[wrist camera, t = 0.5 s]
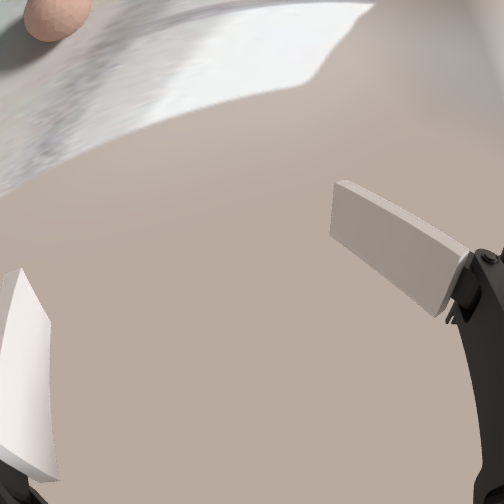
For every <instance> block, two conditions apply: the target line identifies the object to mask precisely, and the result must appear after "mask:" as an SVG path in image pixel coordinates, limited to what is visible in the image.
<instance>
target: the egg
mask: <svg viewBox="0 0 504 504" xmlns="http://www.w3.org/2000/svg"><path fill="white" fill-rule="evenodd" d="M90 8H91V0H28V2H27V4H26V7H25V10H24V23H25V26H26V29H27V31H28V32H29V33H30V34H31V35H32V36H33V37H34V38H36V39H38V40H41V41H46V42H52V41H58V40H61V39H64V38H66V37H68V36H70V35H72V34H73V33H74V32H76V31H77V30H78V29H79V28H80V27H81V26H82V25H83V23H84V22H85V20H86V18H87V17H88V14H89V12H90Z"/></svg>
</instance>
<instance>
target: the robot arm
mask: <svg viewBox="0 0 504 504" xmlns="http://www.w3.org/2000/svg"><path fill="white" fill-rule="evenodd" d="M329 235H330V236H331V237H332V238H334V239H335V240H336V241H338V242H339V243H340V244H342V245H343V246H344V247H346V248H347V249H348V250H350V251H351V252H352V253H354V254H355V255H356V256H358V257H359V258H360V259H362V260H363V261H364V262H366V263H367V264H368V265H369V266H371V267H372V268H374V269H375V270H376V271H377V272H378V273H380V274H381V275H382V276H384V277H385V278H386V279H387V280H389V281H390V282H391V283H392V284H394V285H395V286H396V287H398V288H399V289H400V290H401V291H402V292H404V293H405V294H406V295H407V296H409V297H410V298H411V299H412V300H413V301H415V302H416V303H417V304H418V305H420V306H421V307H422V308H423V309H424V310H425V311H427V312H428V313H429V314H430V315H431V316H433V317H434V318H435V317H437V316H438V315H439V314H440V313H442V312H443V311H444V310H445V308H446V306H447V304H448V302H449V300H450V298H452V299H454V300H455V302H454V303H453V306H452V308H451V310H450V312H449V314H448V316H447V318H446V324H448V323H449V321H450V319H451V317H452V316H454V318H453V320H452V322H451V324H457V325H458V328H459V332H460V336H461V339H462V343H463V347H464V350H465V354H466V358H467V362H468V366H469V371H470V376H471V380H472V385H473V390H474V395H475V401H476V407H477V413H478V420H479V428H480V437H481V447H482V459H483V464H482V469H481V471H480V473H479V474H478V476H477V478H476V481H475V483H474V495H473V496H474V497H473V504H504V248H503V251H502V253H501V255H500V256H497V255H495V254H494V253H492V252H490V251H488V250H485V249H478V250H476V251H475V254H474V253H472V252H470V250H469V249H468V248H466V247H465V246H463V245H462V244H460V243H458V242H457V241H456V240H454V239H452V238H451V237H449V236H448V235H446V234H444V233H443V232H441V231H439V230H438V229H436V228H435V227H433V226H431V225H430V224H428V223H426V222H425V221H423V220H421V219H419V218H418V217H416V216H414V215H412V214H411V213H409V212H407V211H405V210H404V209H402V208H400V207H398V206H396V205H395V204H393V203H391V202H389V201H387V200H386V199H383V198H382V197H380V196H378V195H376V194H374V193H372V192H370V191H368V190H366V189H364V188H362V187H360V186H358V185H357V184H354V183H352V182H350V181H348V180H342V181H337V182H334V191H333V204H332V214H331V224H330V233H329ZM50 331H51V322H50V320H49V318H48V317H47V315H46V313H45V311H44V310H43V308H42V306H41V304H40V303H39V301H38V299H37V297H36V295H35V293H34V291H33V290H32V288H31V286H30V284H29V282H28V280H27V278H26V276H25V274H24V272H23V269H22V267H20V268H18V269H15V270H12V271H9V272H7V273H6V274H5V276H4V279H3V282H2V285H1V288H0V504H48V503H47V502H46V501H45V500H44V499H43V498H42V497H41V496H40V495H39V493H38V492H37V491H36V490H35V489H33V488H32V487H31V486H29V483H28V477H30V478H31V479H33V480H35V481H37V482H39V483H44V482H55V481H60V478H59V473H58V467H57V461H56V455H55V448H54V439H53V430H52V420H51V406H50V380H49V359H50V356H49V355H50Z"/></svg>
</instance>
